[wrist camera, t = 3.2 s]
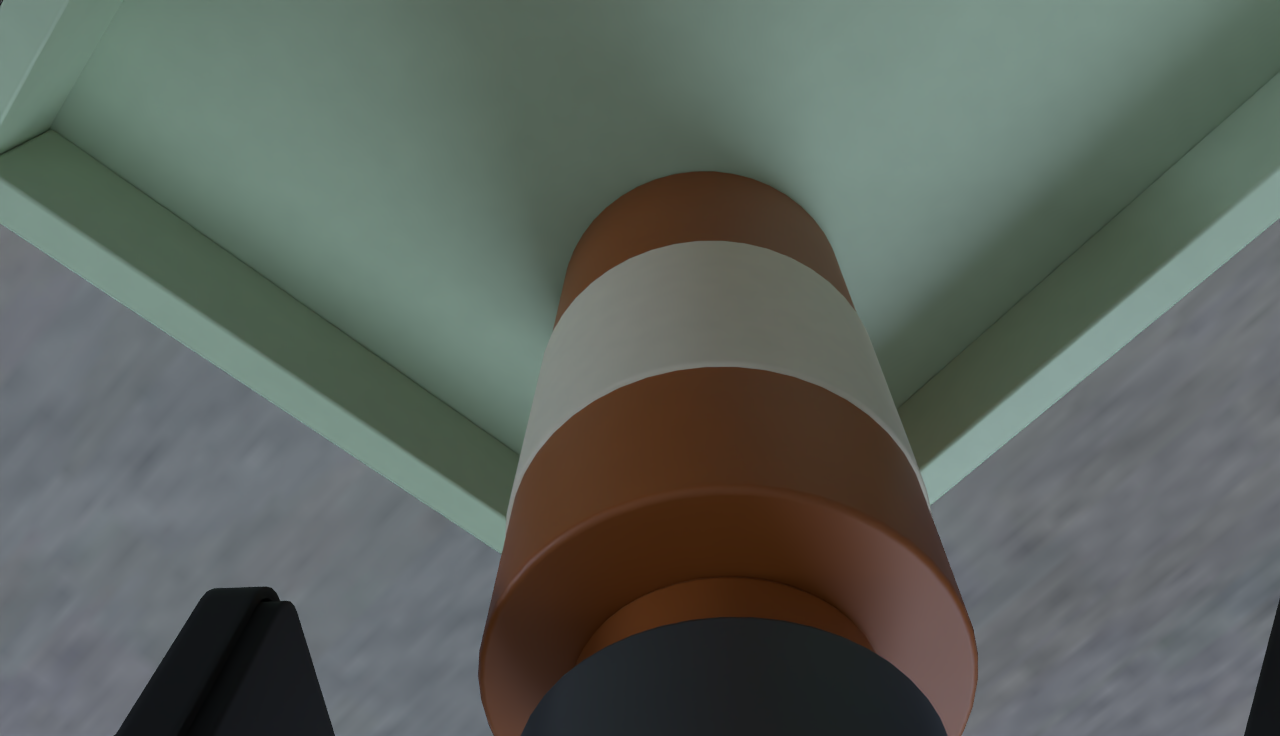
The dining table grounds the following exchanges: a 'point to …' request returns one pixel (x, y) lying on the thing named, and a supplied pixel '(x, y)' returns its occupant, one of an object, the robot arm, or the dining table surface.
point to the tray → (630, 187)
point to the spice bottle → (718, 497)
